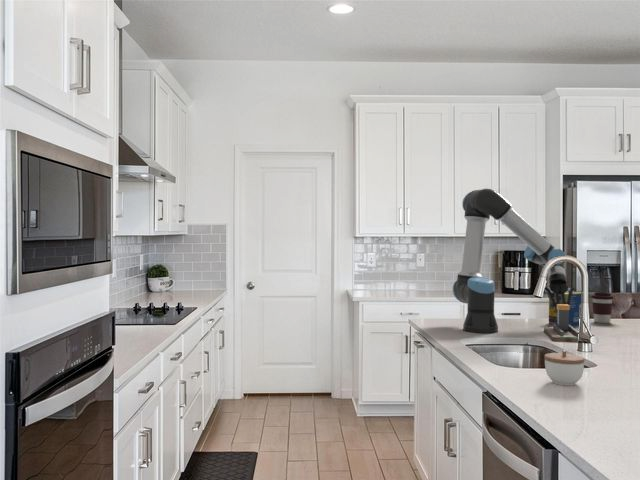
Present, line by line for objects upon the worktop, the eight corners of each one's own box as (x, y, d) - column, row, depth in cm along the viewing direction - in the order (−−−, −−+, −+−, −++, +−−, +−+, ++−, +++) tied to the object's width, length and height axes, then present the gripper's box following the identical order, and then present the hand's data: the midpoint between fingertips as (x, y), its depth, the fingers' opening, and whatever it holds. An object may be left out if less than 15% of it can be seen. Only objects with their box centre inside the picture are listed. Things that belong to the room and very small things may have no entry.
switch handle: (558, 330, 252) (558, 305, 252) (556, 328, 257) (556, 304, 256) (569, 330, 251) (569, 305, 251) (567, 329, 255) (567, 304, 255)
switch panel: (552, 340, 236) (552, 332, 236) (544, 330, 261) (544, 323, 261) (589, 342, 233) (589, 333, 233) (577, 332, 258) (577, 324, 258)
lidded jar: (564, 389, 161) (565, 355, 161) (536, 380, 171) (536, 348, 171) (592, 385, 165) (593, 353, 165) (563, 377, 175) (563, 346, 175)
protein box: (548, 323, 283) (548, 292, 283) (567, 321, 292) (567, 290, 292) (567, 326, 275) (567, 294, 274) (586, 324, 283) (586, 292, 283)
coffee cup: (608, 320, 294) (608, 291, 294) (616, 323, 284) (616, 293, 284) (588, 320, 295) (588, 291, 295) (595, 323, 285) (595, 293, 285)
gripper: (570, 283, 275) (577, 323, 259) (541, 282, 278) (546, 322, 262) (573, 273, 269) (579, 313, 253) (543, 272, 272) (548, 312, 256)
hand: (562, 318), depth 258 cm, fingers closed
